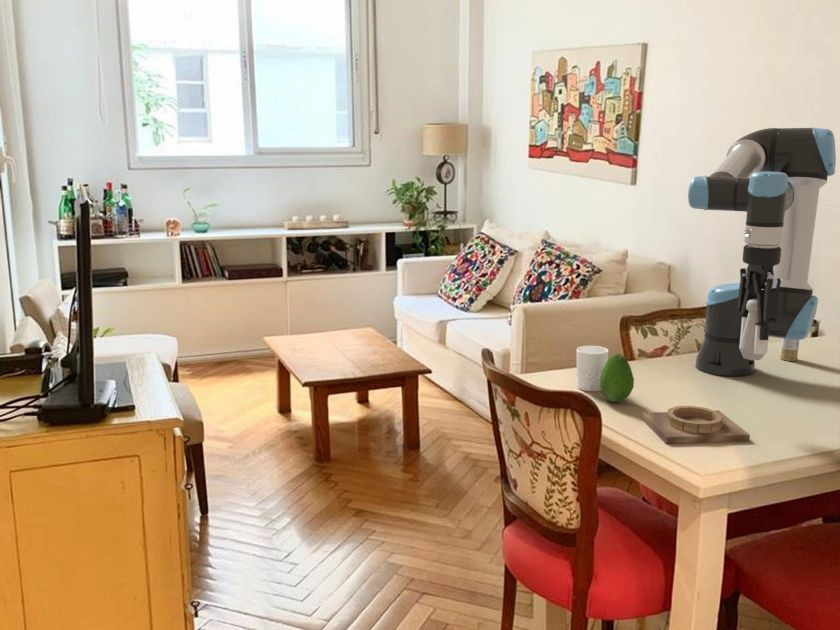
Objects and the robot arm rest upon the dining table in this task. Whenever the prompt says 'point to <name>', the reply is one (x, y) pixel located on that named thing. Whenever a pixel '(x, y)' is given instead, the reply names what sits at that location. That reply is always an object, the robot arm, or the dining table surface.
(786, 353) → the sprinkles bottle
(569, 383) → the dining table surface
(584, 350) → the white cup
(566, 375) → the dining table surface
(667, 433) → the cruet board
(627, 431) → the dining table surface
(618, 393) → the avocado
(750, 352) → the salt shaker
